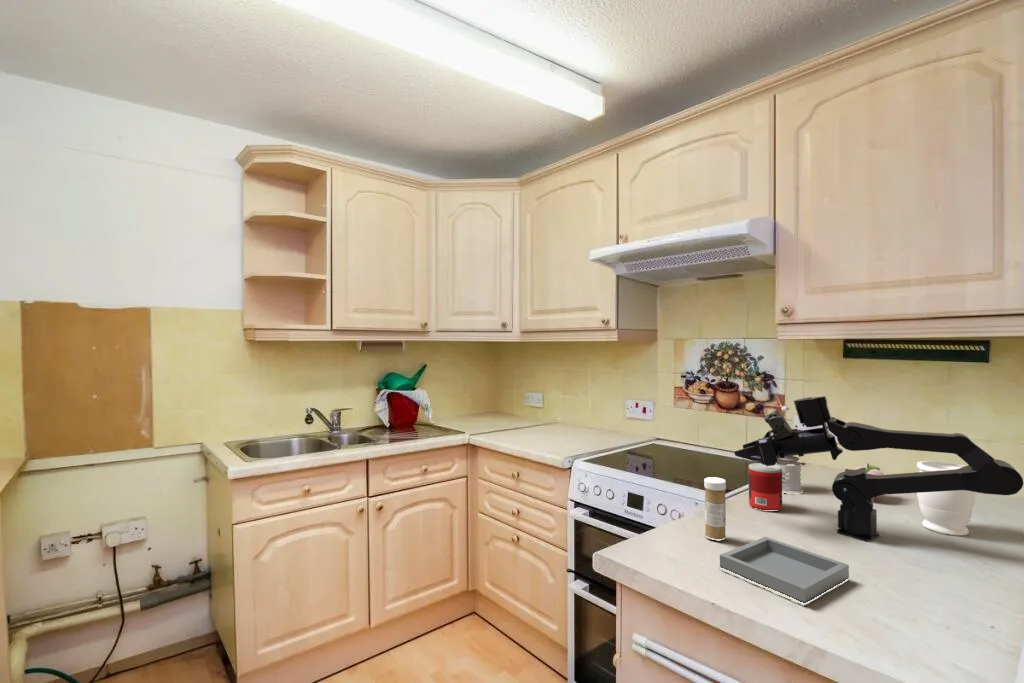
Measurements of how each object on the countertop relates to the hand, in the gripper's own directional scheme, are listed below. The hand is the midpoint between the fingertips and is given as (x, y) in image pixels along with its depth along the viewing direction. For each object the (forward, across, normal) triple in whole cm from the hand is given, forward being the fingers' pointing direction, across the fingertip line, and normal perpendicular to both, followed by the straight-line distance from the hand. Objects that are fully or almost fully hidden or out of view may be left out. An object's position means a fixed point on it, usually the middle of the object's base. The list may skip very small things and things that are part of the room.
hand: (739, 450), depth 130 cm
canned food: (0, -8, +17) cm, 19 cm away
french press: (-2, -28, +17) cm, 33 cm away
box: (-10, +32, +19) cm, 39 cm away
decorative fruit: (-21, -32, +22) cm, 44 cm away
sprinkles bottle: (+5, +22, +16) cm, 27 cm away
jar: (-36, -15, +26) cm, 47 cm away
